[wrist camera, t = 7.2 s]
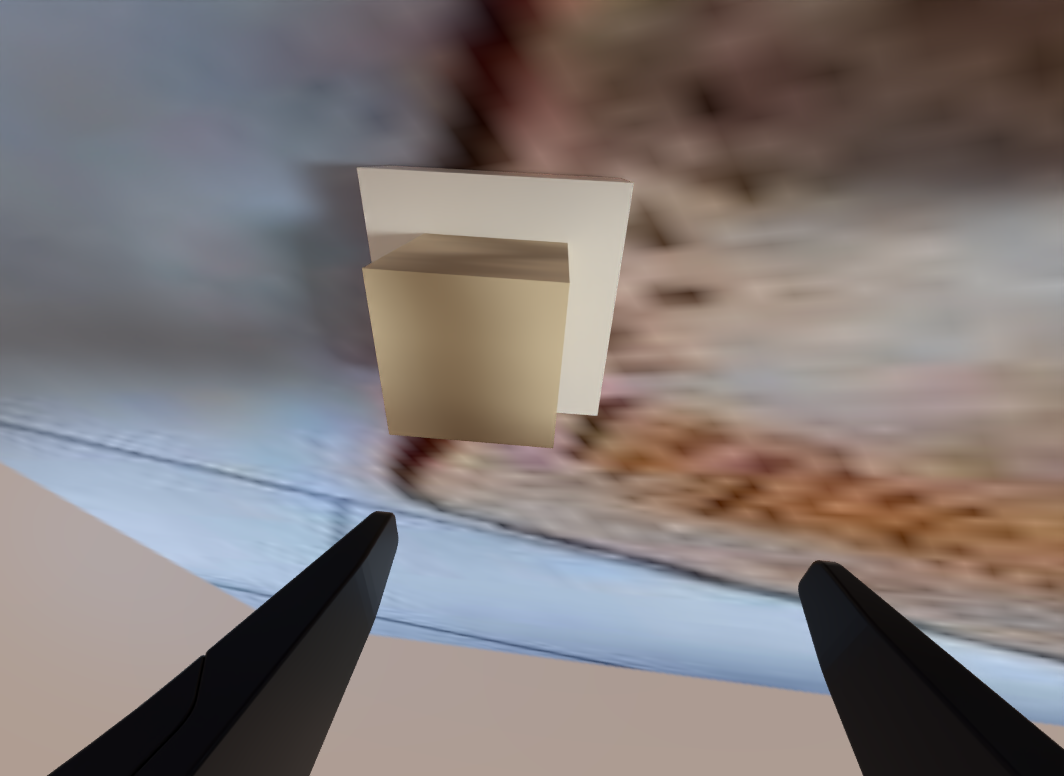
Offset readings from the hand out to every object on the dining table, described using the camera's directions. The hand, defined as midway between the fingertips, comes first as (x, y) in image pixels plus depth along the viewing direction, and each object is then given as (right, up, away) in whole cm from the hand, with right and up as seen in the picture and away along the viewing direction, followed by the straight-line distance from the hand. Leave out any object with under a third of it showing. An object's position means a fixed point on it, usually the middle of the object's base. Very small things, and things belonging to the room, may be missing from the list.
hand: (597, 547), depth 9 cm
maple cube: (-3, +6, +6) cm, 10 cm away
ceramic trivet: (-3, +8, +9) cm, 12 cm away
